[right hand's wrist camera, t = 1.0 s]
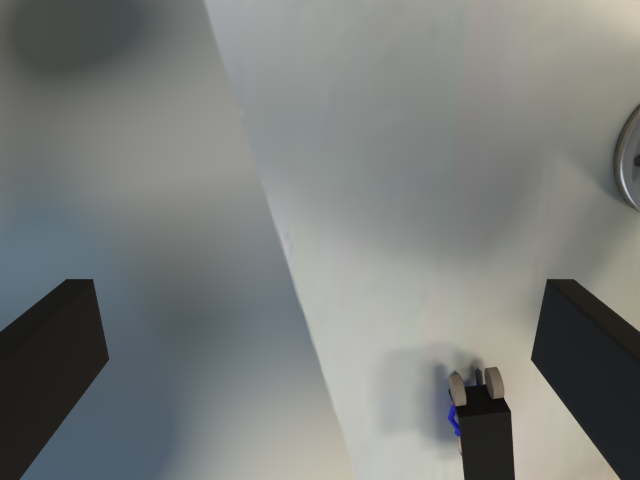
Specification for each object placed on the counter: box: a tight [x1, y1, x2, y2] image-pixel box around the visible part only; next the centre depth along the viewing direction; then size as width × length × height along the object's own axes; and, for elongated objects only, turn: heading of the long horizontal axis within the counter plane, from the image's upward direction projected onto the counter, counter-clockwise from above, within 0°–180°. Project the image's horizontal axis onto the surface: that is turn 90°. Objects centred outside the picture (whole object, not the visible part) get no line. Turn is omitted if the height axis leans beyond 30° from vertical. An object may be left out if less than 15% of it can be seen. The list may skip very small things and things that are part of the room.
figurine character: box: [448, 367, 515, 480], centre depth 55 cm, size 7×8×15 cm
